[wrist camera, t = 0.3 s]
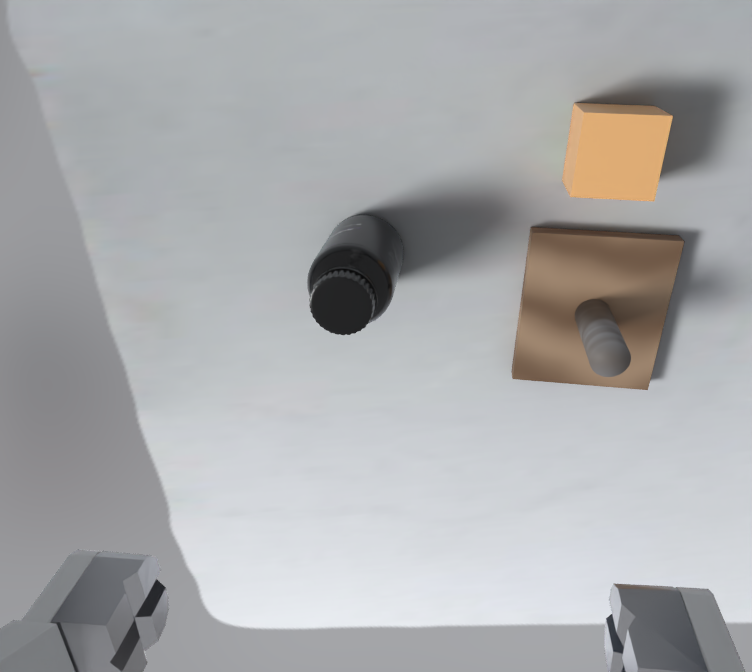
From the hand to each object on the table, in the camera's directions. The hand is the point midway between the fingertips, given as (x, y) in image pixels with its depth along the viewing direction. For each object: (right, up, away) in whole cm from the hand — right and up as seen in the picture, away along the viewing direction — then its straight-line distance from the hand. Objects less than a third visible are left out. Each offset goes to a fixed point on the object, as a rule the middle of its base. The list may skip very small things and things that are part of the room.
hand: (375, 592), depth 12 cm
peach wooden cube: (+18, +20, +39) cm, 48 cm away
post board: (+19, +7, +46) cm, 50 cm away
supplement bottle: (-1, +12, +46) cm, 48 cm away
